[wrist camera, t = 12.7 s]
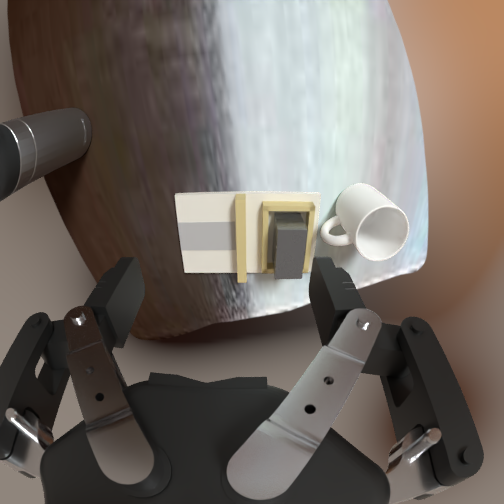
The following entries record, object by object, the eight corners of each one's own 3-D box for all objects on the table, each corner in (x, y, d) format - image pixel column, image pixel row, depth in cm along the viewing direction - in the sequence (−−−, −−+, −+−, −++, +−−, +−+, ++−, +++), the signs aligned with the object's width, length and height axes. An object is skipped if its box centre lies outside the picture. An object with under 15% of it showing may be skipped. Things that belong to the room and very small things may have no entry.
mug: (320, 242, 46) (336, 278, 37) (305, 198, 42) (321, 227, 33) (383, 219, 44) (411, 249, 35) (374, 175, 40) (405, 197, 31)
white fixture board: (185, 269, 48) (181, 282, 45) (176, 193, 41) (170, 201, 38) (310, 268, 48) (315, 281, 45) (319, 192, 41) (325, 200, 38)
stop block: (274, 212, 42) (277, 229, 37) (300, 212, 42) (307, 229, 37) (272, 257, 46) (274, 278, 41) (295, 257, 46) (301, 278, 41)
